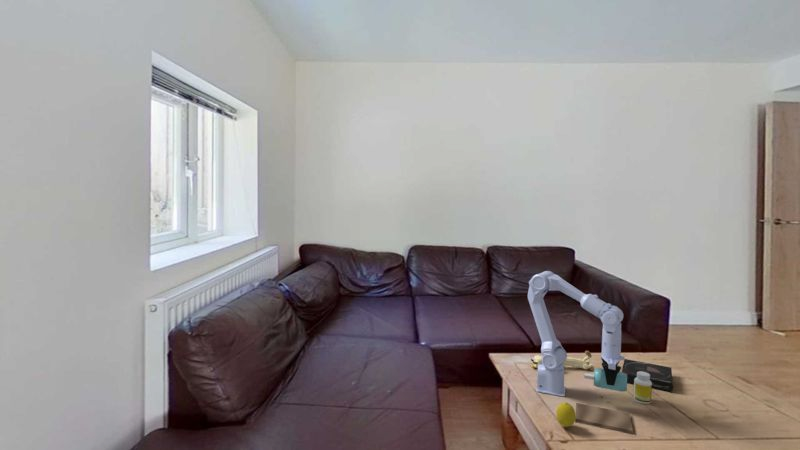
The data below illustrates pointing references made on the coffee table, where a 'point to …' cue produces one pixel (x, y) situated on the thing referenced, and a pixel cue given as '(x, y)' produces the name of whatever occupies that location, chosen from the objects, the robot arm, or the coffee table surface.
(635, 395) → the supplement bottle
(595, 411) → the serving board
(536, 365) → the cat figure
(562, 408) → the lemon
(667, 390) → the portable cd player
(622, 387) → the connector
